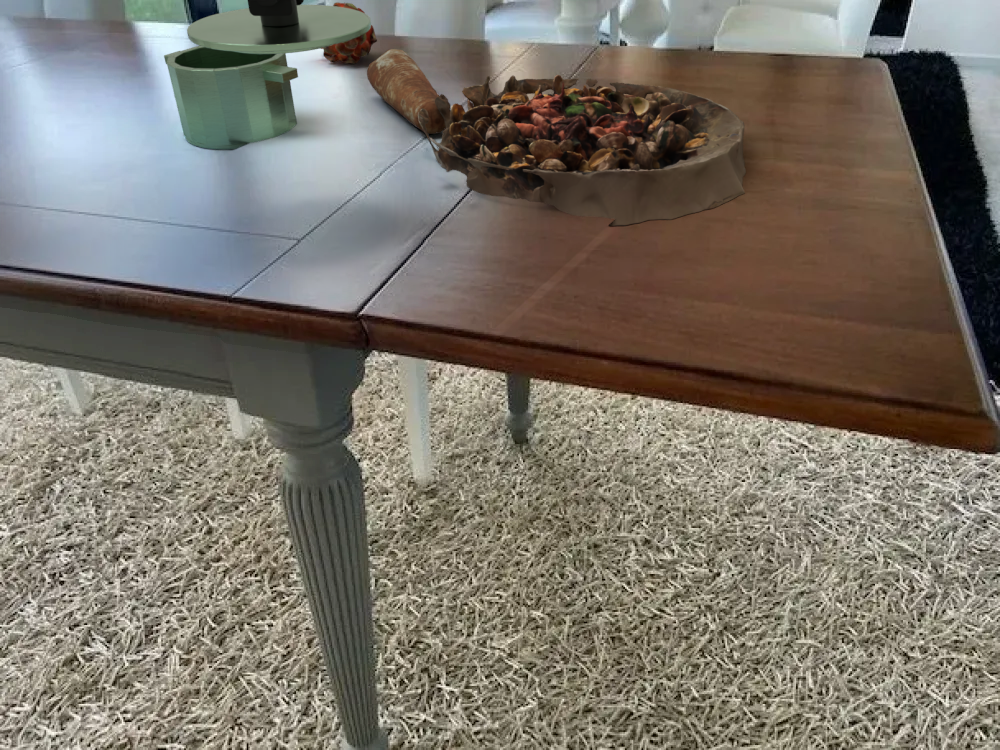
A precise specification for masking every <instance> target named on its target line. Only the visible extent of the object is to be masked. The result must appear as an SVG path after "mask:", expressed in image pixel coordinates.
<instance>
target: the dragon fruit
mask: <svg viewBox="0 0 1000 750" xmlns="http://www.w3.org/2000/svg"><path fill="white" fill-rule="evenodd" d="M332 6H337V7H344V8H349V9H354V10H357V11H360V12H363V13H365V14H366V12H365V11H364V10H363V9H362V8H360V7H356V5H355V4H354V3H352V2H351V3H350V2H339V1H337V2H334V3H333V5H332ZM377 42H378V39H377V36H376V31H375V28H374V25H372V24H371V28H370V30H369V31H368V32H367V33H365V34H364V35H362V36H360V37H357V38H355V39H352V40H349V41H346V42H342V43H338V44H334V45H331V46H328V47H324V48H320V49H321V50H323V56H322V57H324V58H325V59H326V60H327V61H329V62H330V63H337V62H341V63H345V64H351V65H353V64H355V65H356V64H357V63H358V62H359V61H360V59H361V58H362V57H365V56H366V55H367V56H369V54H370V53H371V49H372V47H373V44H375V43H377ZM320 49H319V50H320Z"/></svg>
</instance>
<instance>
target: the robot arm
mask: <svg viewBox="0 0 1000 750" xmlns="http://www.w3.org/2000/svg"><path fill="white" fill-rule="evenodd" d="M304 1H305V0H296V4H297V5H303V3H304ZM247 7H248V8H249V11H250V13H251V14H252V15H253V16H289V15H291V14H292V13H293V12H294V4H293V0H247Z"/></svg>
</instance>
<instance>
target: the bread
mask: <svg viewBox="0 0 1000 750" xmlns="http://www.w3.org/2000/svg"><path fill="white" fill-rule="evenodd" d="M366 76H367V80H368V82H369V84H370V86H371V87H372V89H373V90H374V91H375V92H376V93H377V95H379V97H381V98H382V100H383V101H384V102H385V103H387V104H388V105H389V107H392V108H393V109H394V110H395V111H396V112H398V113H399V114H400V115H401V116H402V117H403V118H405V119H406V120H407V121H408V122H409V123H411V124H412V125H413V126H414V127H416V128H417V129H418V130H420V131H422V133H425V132H424V131H423V129H422V127H421V125H420V123H419V120H418V112H419V111H420V110H421V109H425V110H426V111H427V112H428V116H429V118H428V119H429V122H428V123H427V124H425V127H426V129H427V133H428V135H434V134H440V133H443V131H444V130H445V129H446V126H445V120H444V118H443V117H442V115H441V113H440V111H439V110H438V108H437V106H436V104H435V99H436V98H437V97H438V96H440V94H438V92H437V90H436V89H435V88H434V87H433V85H432V84H431V82H430V81H429V79H428V78H427V77H426V75H425V73H424V72H423V71H422V69H421V68H420V67H419V65H418V63H417V62H416V61H414V59H413V58H412V57H411V56H410V55H409V54H408V53H407V52H406V51H404V50H402V49H396V48H391V49H390V48H389V49H387V50H386V51H385V52H383V53H382V54H381V55H379V57H378V58H376V59H374V61H372V62H370V63H369V65H368V66H367V70H366Z"/></svg>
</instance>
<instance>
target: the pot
mask: <svg viewBox="0 0 1000 750" xmlns="http://www.w3.org/2000/svg"><path fill="white" fill-rule="evenodd" d="M286 54H287V53H283V54H250V53H240V52H234V51H224V50H216V49H211V48H206V47H203V46H199V45H197V46H193V47H189V48H186V49H183V50H177V51H174V52H170V53H167V54H164V55H163V58H164V63H165V64H166V65H167V71H168V74H169V79H170V83H171V86H172V92H173V95H174V99H175V103H176V107H177V112H178V116H179V120H180V125H181V128H182V133H183V136H184V137H185V140H186V141H187V142H188V143H189V144H191V145H192V146H195V147H198V148H202V149H207V150H238V149H240V148H242V147H244V146H247V145H250V144H252V143H257V142H261V141H265V140H270V139H273V138H276V137H279V136H281V135H283V134H285V133H288V132H290V131H291V130H292V129H293V128H294V127H295V126H296V125H297V124H298V121H297V116H296V115H297V114H296V110H295V109H296V108H295V104H294V103H295V102H294V96H293V90H292V85H291V81H292V80H294V79H298V78H299V73H298V68H297V67H291V66H288V60H287V55H286Z"/></svg>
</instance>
